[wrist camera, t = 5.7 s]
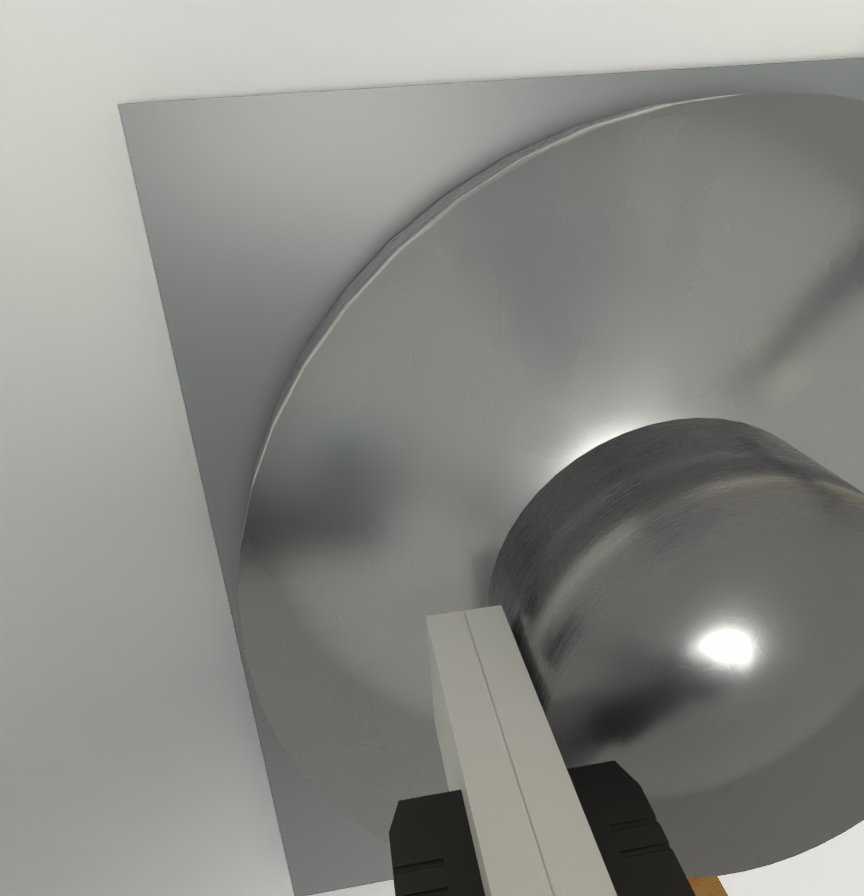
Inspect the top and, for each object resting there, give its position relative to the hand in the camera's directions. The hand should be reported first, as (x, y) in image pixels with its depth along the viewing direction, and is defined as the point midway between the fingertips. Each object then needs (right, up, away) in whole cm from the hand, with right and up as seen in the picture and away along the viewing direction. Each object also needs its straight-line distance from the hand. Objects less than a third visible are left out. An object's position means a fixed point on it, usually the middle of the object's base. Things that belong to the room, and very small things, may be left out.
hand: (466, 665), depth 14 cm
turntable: (+5, -1, +4) cm, 7 cm away
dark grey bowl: (+4, +1, +2) cm, 5 cm away
